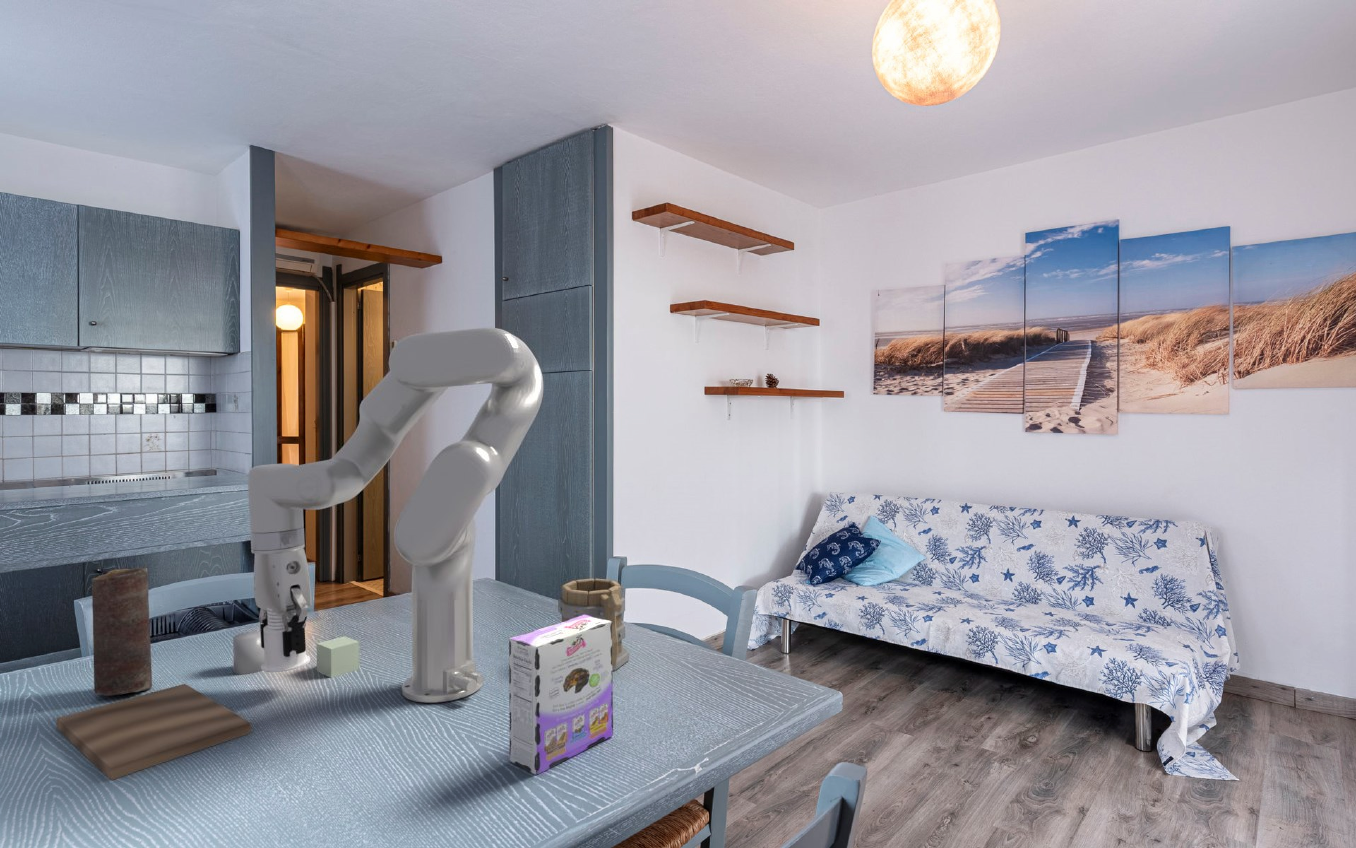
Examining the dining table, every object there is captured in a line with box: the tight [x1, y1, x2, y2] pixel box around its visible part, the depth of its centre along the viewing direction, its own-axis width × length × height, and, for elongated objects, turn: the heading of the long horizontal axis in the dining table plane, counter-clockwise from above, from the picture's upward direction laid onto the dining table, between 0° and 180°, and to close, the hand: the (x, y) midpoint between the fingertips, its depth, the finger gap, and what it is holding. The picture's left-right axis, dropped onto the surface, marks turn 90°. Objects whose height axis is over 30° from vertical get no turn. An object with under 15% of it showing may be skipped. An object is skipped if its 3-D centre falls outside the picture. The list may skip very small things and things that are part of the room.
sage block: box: [316, 635, 360, 679], centre depth 125 cm, size 5×5×5 cm
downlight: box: [261, 606, 311, 673], centre depth 114 cm, size 8×7×10 cm
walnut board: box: [56, 683, 252, 781], centre depth 101 cm, size 24×16×2 cm, turn 53°
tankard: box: [557, 577, 630, 672], centre depth 126 cm, size 20×13×15 cm, turn 23°
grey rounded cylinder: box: [232, 630, 265, 676], centre depth 125 cm, size 5×5×6 cm
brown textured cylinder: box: [91, 567, 153, 697], centre depth 115 cm, size 8×7×20 cm
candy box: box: [508, 615, 614, 776], centre depth 96 cm, size 14×6×16 cm, turn 141°
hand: (283, 649), depth 115 cm, fingers closed on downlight, 7 cm apart
